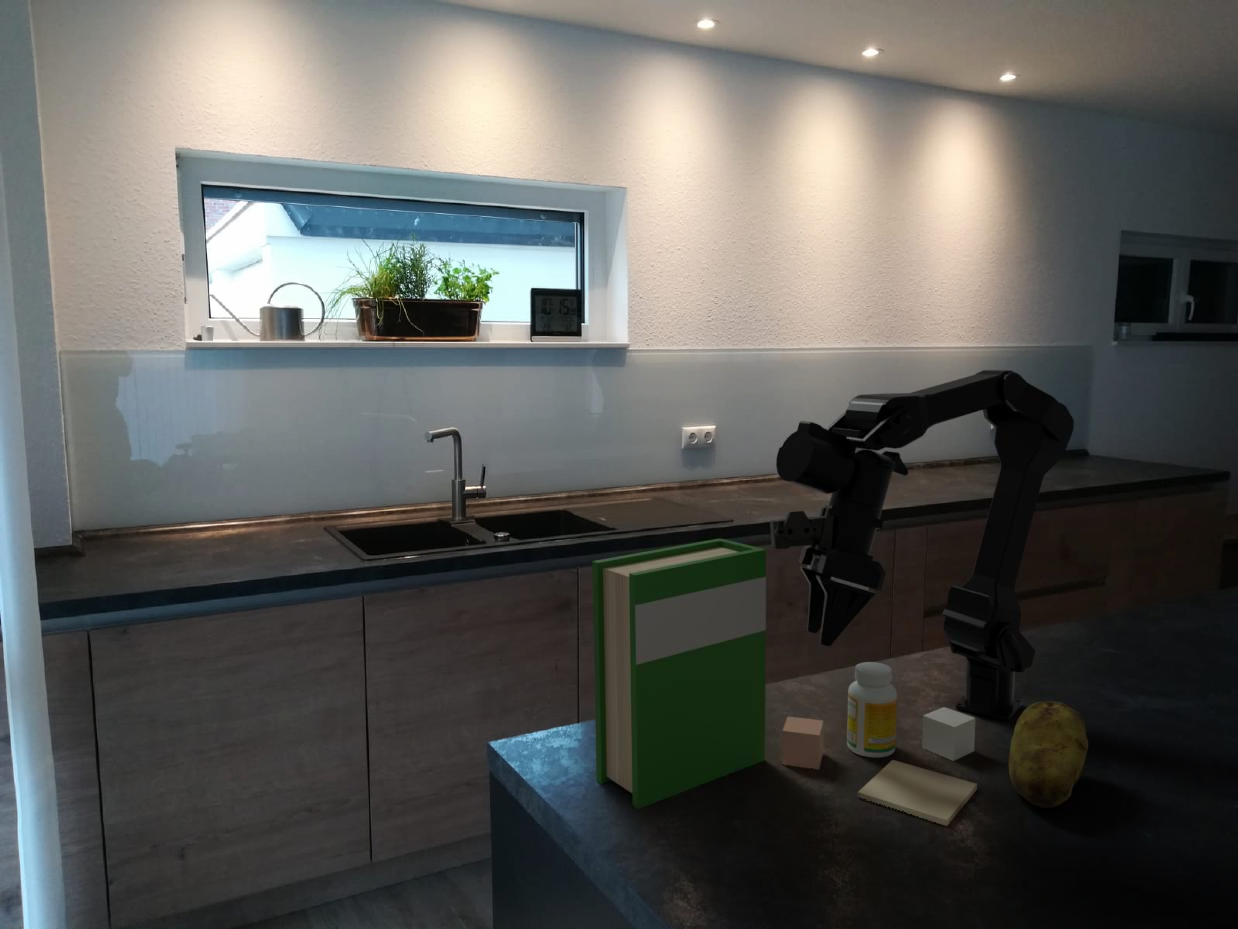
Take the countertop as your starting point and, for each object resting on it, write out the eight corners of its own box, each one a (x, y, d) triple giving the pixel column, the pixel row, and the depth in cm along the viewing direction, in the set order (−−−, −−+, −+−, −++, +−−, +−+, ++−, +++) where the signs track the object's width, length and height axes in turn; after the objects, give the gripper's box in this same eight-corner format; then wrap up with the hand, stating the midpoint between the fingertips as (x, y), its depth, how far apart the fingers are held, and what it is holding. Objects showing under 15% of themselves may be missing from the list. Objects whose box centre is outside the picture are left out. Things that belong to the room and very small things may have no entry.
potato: (975, 794, 91) (978, 719, 90) (1030, 754, 100) (1033, 686, 98) (1060, 825, 85) (1064, 745, 84) (1110, 780, 93) (1114, 707, 92)
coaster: (892, 765, 98) (892, 760, 97) (976, 789, 92) (977, 784, 92) (857, 797, 91) (857, 792, 90) (946, 826, 85) (947, 820, 85)
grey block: (942, 739, 104) (943, 707, 103) (974, 751, 101) (975, 718, 100) (922, 749, 102) (923, 715, 101) (953, 761, 98) (954, 727, 98)
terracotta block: (787, 749, 102) (787, 716, 101) (823, 754, 101) (823, 720, 100) (782, 765, 98) (782, 730, 98) (818, 770, 97) (819, 735, 96)
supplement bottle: (838, 749, 102) (839, 668, 100) (861, 734, 105) (862, 656, 104) (882, 764, 98) (884, 680, 97) (904, 747, 102) (906, 667, 100)
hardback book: (638, 809, 89) (634, 575, 86) (596, 780, 95) (592, 561, 92) (764, 760, 99) (766, 549, 96) (720, 737, 105) (720, 538, 102)
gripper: (776, 485, 109) (741, 608, 109) (797, 482, 91) (755, 630, 90) (865, 510, 108) (830, 634, 108) (904, 512, 90) (862, 662, 90)
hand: (818, 638), depth 99 cm, fingers open, 9 cm apart
